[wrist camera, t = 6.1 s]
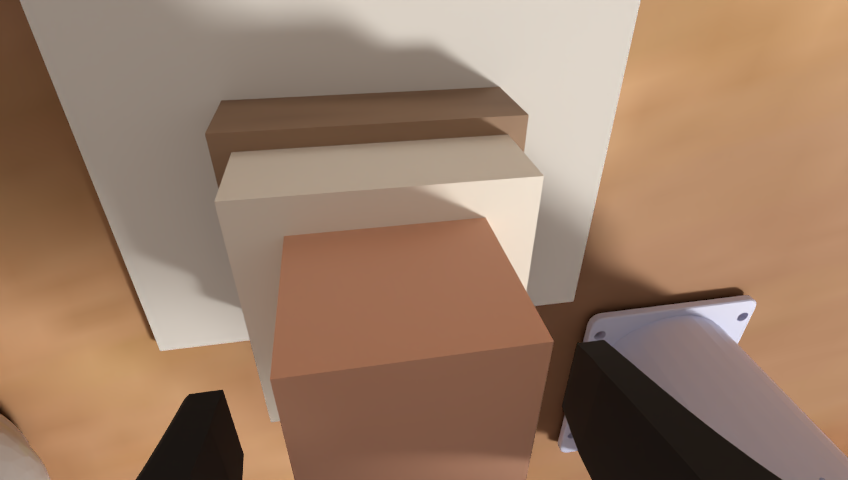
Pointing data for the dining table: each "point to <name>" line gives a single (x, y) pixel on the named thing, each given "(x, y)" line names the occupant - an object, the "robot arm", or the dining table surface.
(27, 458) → the teacup
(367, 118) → the walnut base block
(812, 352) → the dining table surface
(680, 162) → the dining table surface
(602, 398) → the robot arm
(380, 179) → the cream block
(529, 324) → the terracotta block
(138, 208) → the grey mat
